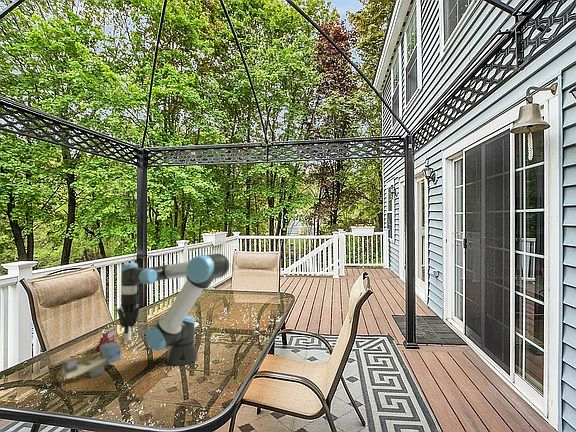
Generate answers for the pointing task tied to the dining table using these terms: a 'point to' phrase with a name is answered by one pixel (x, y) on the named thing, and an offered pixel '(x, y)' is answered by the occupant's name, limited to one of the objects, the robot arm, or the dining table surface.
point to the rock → (88, 358)
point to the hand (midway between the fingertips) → (128, 339)
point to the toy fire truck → (106, 339)
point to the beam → (84, 367)
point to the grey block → (110, 352)
